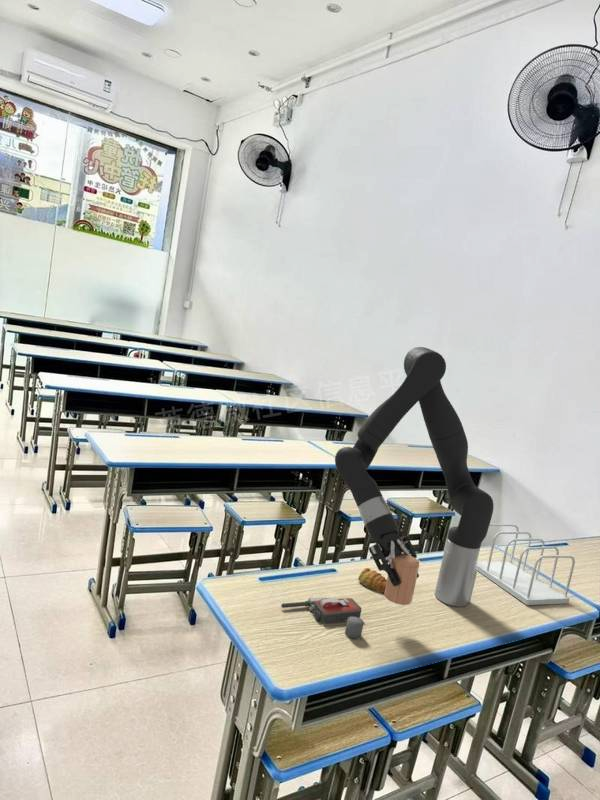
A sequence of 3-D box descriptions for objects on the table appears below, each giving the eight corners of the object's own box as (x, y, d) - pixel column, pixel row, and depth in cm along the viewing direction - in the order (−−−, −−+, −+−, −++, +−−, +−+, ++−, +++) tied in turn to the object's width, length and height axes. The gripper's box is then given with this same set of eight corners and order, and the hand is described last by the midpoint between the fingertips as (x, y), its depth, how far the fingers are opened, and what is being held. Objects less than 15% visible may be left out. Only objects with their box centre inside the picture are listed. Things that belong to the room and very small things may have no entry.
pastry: (394, 590, 155) (397, 578, 154) (382, 597, 150) (385, 584, 149) (367, 576, 161) (370, 564, 160) (354, 582, 156) (357, 570, 155)
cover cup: (400, 589, 138) (407, 552, 137) (416, 603, 132) (424, 564, 131) (379, 591, 135) (386, 554, 133) (395, 606, 129) (402, 566, 128)
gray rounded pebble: (355, 629, 130) (357, 615, 130) (363, 638, 127) (366, 624, 127) (341, 631, 129) (344, 617, 128) (350, 640, 125) (353, 626, 125)
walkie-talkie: (347, 602, 144) (278, 608, 135) (350, 586, 143) (281, 591, 134) (365, 621, 136) (293, 628, 127) (368, 604, 135) (296, 611, 126)
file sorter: (568, 604, 166) (581, 556, 164) (526, 607, 159) (538, 557, 157) (509, 565, 189) (519, 523, 187) (470, 566, 182) (480, 522, 180)
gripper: (370, 516, 131) (400, 583, 124) (404, 508, 141) (434, 570, 135) (349, 528, 136) (378, 593, 129) (384, 520, 146) (412, 580, 139)
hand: (407, 581), depth 132 cm, fingers closed on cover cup, 7 cm apart
